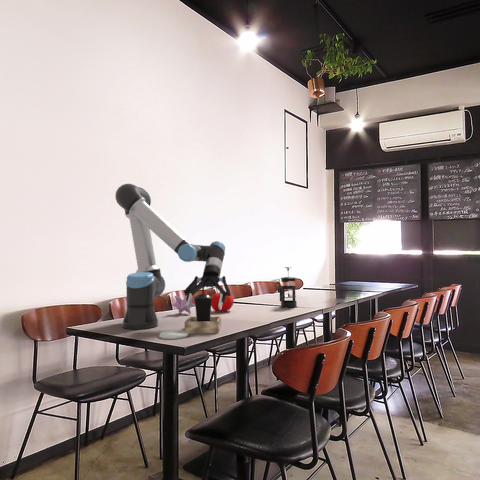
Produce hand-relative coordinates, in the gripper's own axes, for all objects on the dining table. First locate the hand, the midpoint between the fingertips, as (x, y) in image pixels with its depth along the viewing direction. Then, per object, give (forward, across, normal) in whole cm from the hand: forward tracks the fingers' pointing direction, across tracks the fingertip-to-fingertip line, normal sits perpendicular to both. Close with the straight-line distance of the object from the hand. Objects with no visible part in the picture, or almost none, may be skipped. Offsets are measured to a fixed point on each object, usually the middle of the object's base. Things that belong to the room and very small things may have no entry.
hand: (203, 308), depth 171 cm
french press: (-46, -28, -60) cm, 81 cm away
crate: (+6, +1, -7) cm, 9 cm away
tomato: (-31, +5, -45) cm, 55 cm away
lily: (-23, +24, -36) cm, 49 cm away
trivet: (+16, +8, +3) cm, 18 cm away
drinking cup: (+6, +1, -8) cm, 10 cm away
